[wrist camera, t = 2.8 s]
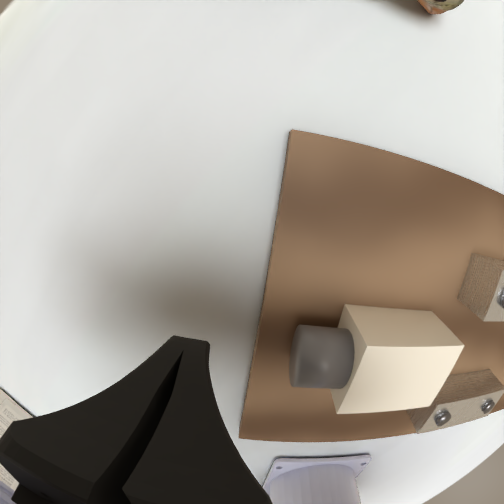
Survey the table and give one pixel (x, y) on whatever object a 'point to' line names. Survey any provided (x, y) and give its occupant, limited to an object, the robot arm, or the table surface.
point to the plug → (375, 358)
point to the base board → (365, 274)
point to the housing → (476, 382)
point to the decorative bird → (439, 5)
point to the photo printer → (3, 414)
